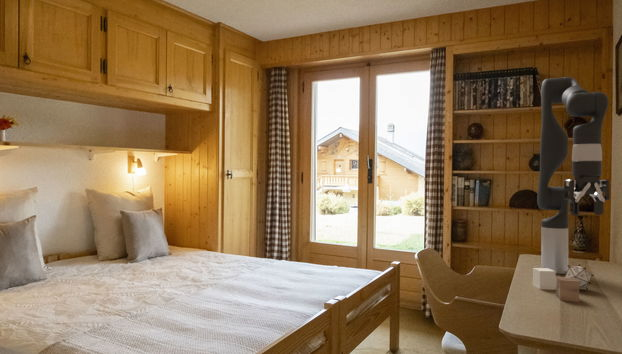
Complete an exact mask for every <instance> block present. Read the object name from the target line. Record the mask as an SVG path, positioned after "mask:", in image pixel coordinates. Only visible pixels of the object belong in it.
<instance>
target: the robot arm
mask: <svg viewBox="0 0 622 354" xmlns="http://www.w3.org/2000/svg"><path fill="white" fill-rule="evenodd" d="M540 90H541V91H540V94H541V95H540V98H541V99H540V103H541V104H540V105H541V126H540V127H541V128H540V144H539V176H538V186H537V195H536V196H537V197H536V199H537V200H536V202H537V206H538V208H539V209H540V210H546V211H558V212H557V213H556V214H555V215H553V216H551V217H546V218H543V219H542V220H541V223H540V224H541V225H540V226H541V229H540V232H541V234H540V235H541V236H540V241H541V242H540V243H541V245H540V247H541V250H540V253H541V256H540V257H541V259H540V260H541V261H540V268H549V269H551V270H553V271H556V274H559V275H560V274H562V275H565V274H566V273H565V271H566V272H567V270H568V268H569V267H568V266H567V265H569V212H570V215H571V216H579V215H580V202H579V201H580V200H581V199H582V197H584V196H585V195H589V196H590V197H591V198H592V199H593V200H594V203H593V204H594V205H593V214H594V215H597V216H602V215H603V214H604V203H605V202H606V201H609V200H610V199H611V197H610V196H611V195H610V193H611V192H610V181H609V179H600V177H601V176H603V150H602V130H603V129H602V127H603V124H604V123H603V122H604V120H605V117H606V116H605V115H606V113H607V111H608V108H609V101H610V100H609V98H608V96H607V94H606V93H604V92H602V91H591V92H589V91H588V90H586V89H584V88H582V87H581V85H580V83H579V82H578V80H576V79H575V78H573V77H570V76H563V77H554V78H553V77H552V78H551V77H549V78H545V79H544V80H543V81H542V83H541V87H540ZM556 104H557V105H558V104H562V105H564V106H565V107H566V112H567V114H568V115H569V116H570V117H575V118H576V117H578V118H579V117H580V118H581V117H585V118H586V117H591V120H590V121H589V122H587V123H583V124H578V125H575V126H574V127H573V130H572V151H571V175H572V176H573V179H565V180H564V182H563V184H564V185H563V186H550V185H549V183H550V181H551V178H552V177H553V175H554V174H555V173H556V171H557V170H558V169H559V167H561V165H563V163H564V161H565V160H566V159H567V157H568V153H569V151H568V150H569V136H568V134H567V133H566V131H565V130H564V128H563V126H561V124H560V123H559V121H558V120H557V117H556V116H555V114H554V112H553V111H554V110H553V105H556Z"/></svg>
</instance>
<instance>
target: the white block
mask: <svg viewBox="0 0 622 354" xmlns="http://www.w3.org/2000/svg"><path fill="white" fill-rule="evenodd" d="M556 275H557V273H556V271H553V270H551V269H549V268H541V267H533V268H532V286H533V287H535V288H536V289H538V290H550V291H551V290H552V291H554V290H555V291H556V277H557V276H556Z"/></svg>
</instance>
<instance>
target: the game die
mask: <svg viewBox="0 0 622 354" xmlns="http://www.w3.org/2000/svg"><path fill="white" fill-rule="evenodd" d="M567 266H568V270H567V272H566V271H565V273H564V277H569V278H576V279H577V280H578V281H579V290H580V289H585V290H587V291H588V290H589V289H588V285H589V284H592V282H591V278H592V277H594V276H595V275H594V274H591V273H590V272H589V271H588V270H587V266H584V267H582V266H581V264H580V263H578V265H575V266H570V264H568V265H567Z"/></svg>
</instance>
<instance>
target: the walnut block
mask: <svg viewBox="0 0 622 354" xmlns="http://www.w3.org/2000/svg"><path fill="white" fill-rule="evenodd" d="M555 296H556V298H557V299H558V298H559V299H560V300H559V299H558V300H559V301H563V300H564V301H563V302H576V303H577V302H578V303H580V289H579V281H578V280H577V279H576V278H569V277H565V276H556V290H555Z"/></svg>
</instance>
